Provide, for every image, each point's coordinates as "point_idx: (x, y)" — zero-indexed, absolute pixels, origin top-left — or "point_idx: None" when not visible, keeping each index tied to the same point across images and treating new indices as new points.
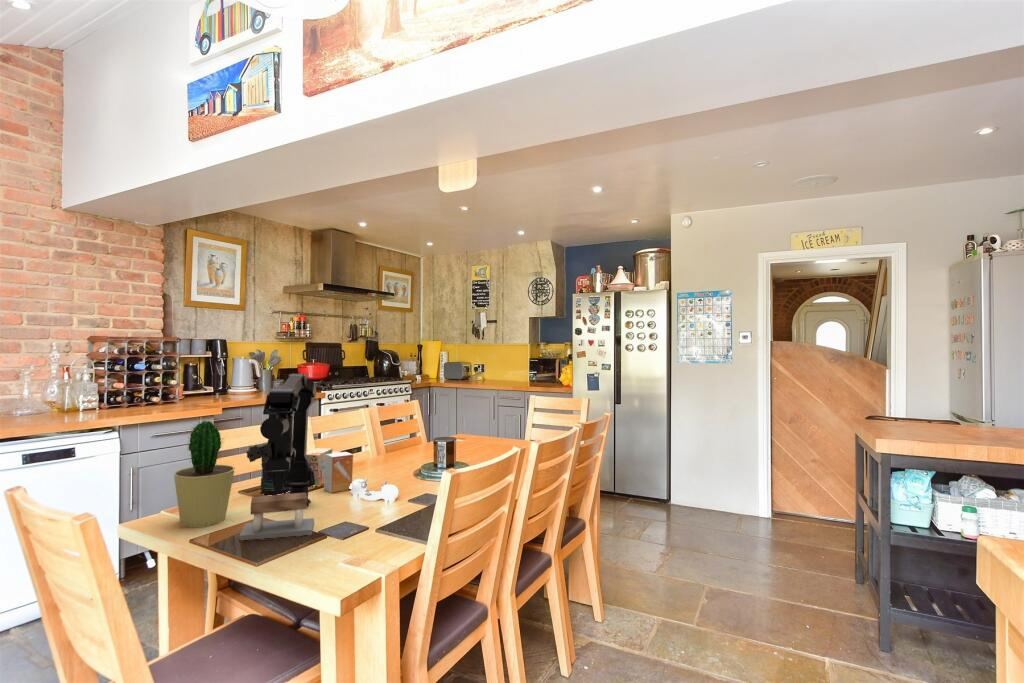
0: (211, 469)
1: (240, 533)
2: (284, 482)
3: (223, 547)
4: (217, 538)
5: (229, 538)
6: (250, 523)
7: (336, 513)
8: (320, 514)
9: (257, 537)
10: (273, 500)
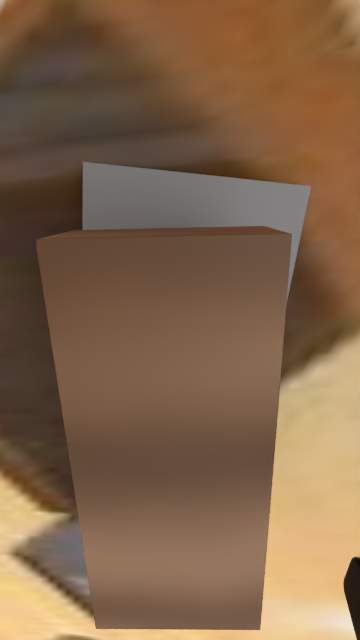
0: None
1: (122, 166)
2: (353, 625)
3: (18, 87)
4: (183, 25)
5: (159, 104)
6: (292, 212)
7: (333, 559)
8: (353, 509)
9: None
10: (91, 434)
